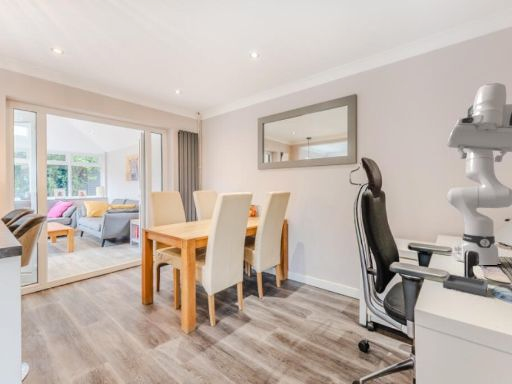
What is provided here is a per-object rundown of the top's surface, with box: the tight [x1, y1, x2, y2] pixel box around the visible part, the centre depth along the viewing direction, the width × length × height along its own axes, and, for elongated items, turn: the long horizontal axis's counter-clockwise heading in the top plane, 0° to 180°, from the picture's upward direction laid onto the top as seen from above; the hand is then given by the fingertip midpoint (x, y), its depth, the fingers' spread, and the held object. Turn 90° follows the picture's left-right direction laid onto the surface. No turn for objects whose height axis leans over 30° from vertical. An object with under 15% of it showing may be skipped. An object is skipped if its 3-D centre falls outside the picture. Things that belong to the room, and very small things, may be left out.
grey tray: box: [442, 273, 488, 298], centre depth 92 cm, size 12×12×2 cm
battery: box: [463, 250, 479, 279], centre depth 101 cm, size 7×4×11 cm, turn 130°
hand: (480, 159), depth 87 cm, fingers open, 8 cm apart
